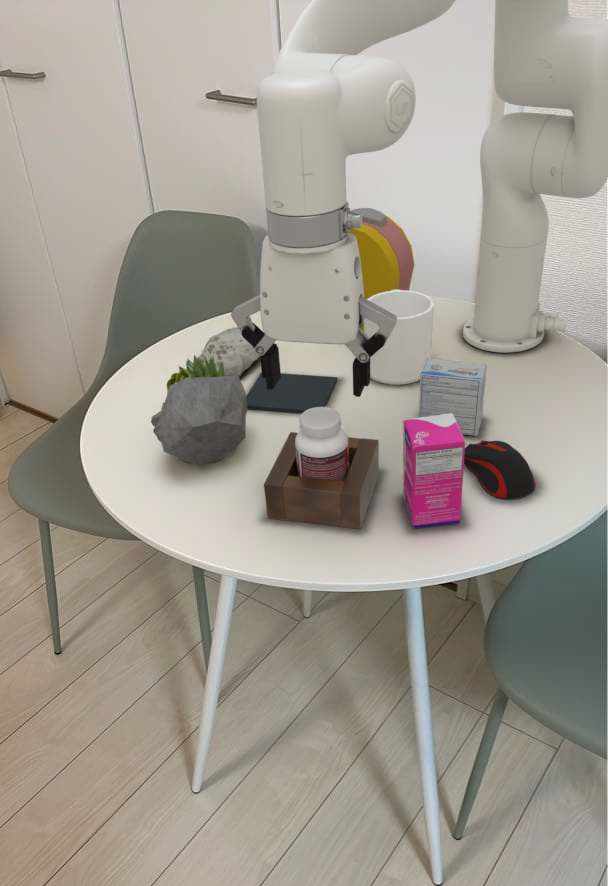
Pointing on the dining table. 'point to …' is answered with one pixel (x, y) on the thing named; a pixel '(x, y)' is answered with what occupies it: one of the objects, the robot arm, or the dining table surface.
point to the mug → (402, 337)
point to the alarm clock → (383, 254)
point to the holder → (323, 488)
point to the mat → (291, 393)
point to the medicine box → (454, 392)
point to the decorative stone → (230, 352)
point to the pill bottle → (322, 445)
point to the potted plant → (202, 413)
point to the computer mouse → (500, 469)
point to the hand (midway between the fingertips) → (316, 387)
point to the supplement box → (433, 470)
